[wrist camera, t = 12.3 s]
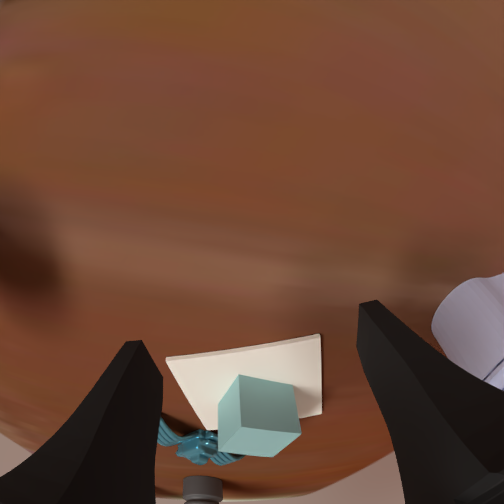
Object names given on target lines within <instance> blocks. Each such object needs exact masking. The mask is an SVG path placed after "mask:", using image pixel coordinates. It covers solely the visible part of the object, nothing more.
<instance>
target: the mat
mask: <svg viewBox="0 0 504 504" xmlns="http://www.w3.org/2000/svg"><path fill="white" fill-rule="evenodd" d="M166 363H167V364H168V366H169V368H170V370H171V372H172V373H173V375H174V377H175V379H176V380H177V382H178V384H179V386H180V387H181V389H182V391H183V392H184V394H185V396H186V397H187V399H188V401H189V402H190V404H191V406H192V407H193V409H194V411H195V412H196V414H197V415H198V417H199V419H200V420H201V422H202V423H203V425H204V426H205V428H206V429H207V430H218V403H219V402H220V400H221V399H222V398H223V396H224V395H225V393H226V392H227V390H228V389H229V387H230V386H231V385H232V383H233V382H234V380H235V379H236V377H237V376H238V374H240V375H245V376H249V377H254V378H259V379H264V380H269V381H274V382H280V383H285V384H291V385H293V390H294V396H295V401H296V406H297V412H298V417H299V418H304V417H309V416H314V415H319V414H322V376H321V338H320V334H314V335H310V336H305V337H299V338H294V339H289V340H284V341H278V342H272V343H267V344H261V345H255V346H248V347H242V348H235V349H229V350H222V351H214V352H207V353H199V354H191V355H182V356H173V357H166Z"/></svg>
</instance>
